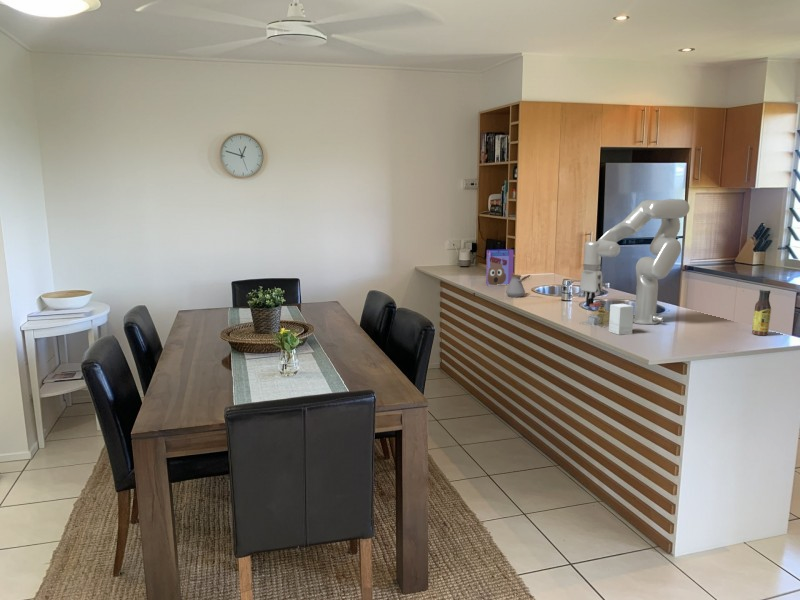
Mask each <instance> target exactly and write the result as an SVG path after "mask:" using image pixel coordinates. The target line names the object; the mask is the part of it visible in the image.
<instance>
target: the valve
mask: <svg viewBox="0 0 800 600" xmlns="http://www.w3.org/2000/svg"><path fill="white" fill-rule="evenodd" d="M606 309H607V307H605V306H604V307H601V306H598V310H593V314H589V316H588V318H587V320H585V321H580V322H578V324H579V325H585V326H591V327H596V328H602V329H603V328H605V327H606V328H607V327H609V318H610V310H606Z"/></svg>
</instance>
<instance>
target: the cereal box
mask: <svg viewBox="0 0 800 600" xmlns="http://www.w3.org/2000/svg"><path fill="white" fill-rule="evenodd" d="M514 254H515V253H514V249H512V248H510V249H507V248H506V249H503V248H501V249H486V274H485V285H486V284H487V285H486V286H488V285H497V284H509V283H510V281H511V279H512V278H511V275H514V257H515V256H514Z"/></svg>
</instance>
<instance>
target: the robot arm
mask: <svg viewBox="0 0 800 600" xmlns="http://www.w3.org/2000/svg"><path fill="white" fill-rule="evenodd" d="M690 207H691V206H690V204H689V202H688V201H687V200H685V199H680V198H677V199H676V198H666V199H646V200H645V199H644V200H643V201H641V202H640V203H639V204H638V205H637V206H636V207H635V208H634V209H633V210H632V211H630V214H628V215H627V216H626V217H625V218H624V219H623V220H622V221H620V222H619V223H617V224H616V225H614V226H613V227H611V228H610V229H609V230H607V231H606V232H605V233H603V235H602V236H601V237H600V238H598V240H597V241H593V240H592V241H591V240H590V241H586V242H585V243H584V251H583V252H584V253H583V254H584V256H583V269H582V271H581V276H580V282H579V283H580V285H579V286H580V287H579V288H580V293H582V294H584V296H585V300H586V301H585V306H586V307H588V308H590V307H589V306H590V304H591V303H594V302H595V301H594V299H595V298H596V297H597V296H600V295H601V293H602V291H603V274H602V273H603V272H602V271H601V269H602V266H601V265H602V264H601V263H602V258H615V257H617V256H618V255H619V254H620V252H621V246H620V244H618V242H620V241H621V240H622V239H623V240H624V239H625V238H628V237H631V236H634V235H635V234H637V233H639V231H641V230H642V228H644V226H645V225H647V223H648V222H649V221H650V220H651V219H654V220H661V221H660V222H661V224H660V226H659V228H658V231H657V232H656V234H655V236H654V237H653V239H652V241H651V243H650V245H649V252H650V254H652V255H653V256H655V257H653V256H643V257H641V258H639V259H638V260H637V262H636V264H635V274H636V289H635V290H636V291H635V302H634V303H635V306H634V316H633V323H635V324H637V325H638V324H640V325H657V324H659V323H660V322H664V317H663V316H660V315H659V313H657V305H658V292H659V282H658V280H662V279H665V278H666V277H667V276H668V275H669V274H670V272H671V271H672V269H673V268H674V266H675V264H676V262H677V260H678V259H679V256H681V255H680V254H681V253H682V252H681V251H682V244H681V242H680V241H679V240H678V239H677V236H678V234H679V232H680V229H681V222H680V221H681V220H680V219H681V218H684V217H686V216H687V215H688V214H689V212H690V209H691V208H690Z"/></svg>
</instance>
